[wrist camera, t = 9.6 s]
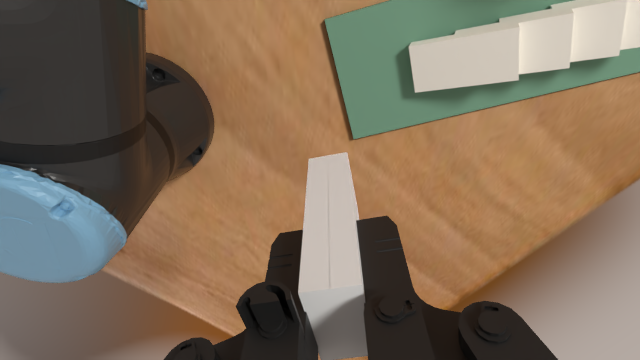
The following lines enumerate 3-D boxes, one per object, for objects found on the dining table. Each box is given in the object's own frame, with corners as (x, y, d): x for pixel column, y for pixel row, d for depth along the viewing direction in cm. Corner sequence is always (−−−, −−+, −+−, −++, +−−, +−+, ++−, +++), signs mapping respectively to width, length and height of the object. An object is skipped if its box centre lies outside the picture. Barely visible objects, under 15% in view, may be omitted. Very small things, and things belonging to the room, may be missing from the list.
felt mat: (353, 137, 45) (353, 139, 45) (324, 19, 38) (324, 20, 38) (656, 65, 40) (660, 66, 39) (687, -87, 33) (693, -88, 32)
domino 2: (458, 82, 39) (569, 68, 35) (454, 34, 37) (574, 12, 32) (459, 76, 40) (566, 62, 36) (455, 30, 38) (571, 9, 33)
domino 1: (414, 92, 40) (518, 80, 35) (408, 46, 37) (519, 27, 33) (417, 87, 41) (518, 74, 37) (411, 42, 39) (518, 22, 34)
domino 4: (549, 59, 38) (678, 41, 33) (552, 8, 35) (692, -19, 31) (547, 54, 39) (671, 37, 34) (550, 4, 36) (684, -22, 32)
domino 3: (500, 71, 39) (619, 55, 34) (499, 22, 36) (627, -2, 32) (500, 66, 40) (614, 50, 35) (499, 18, 37) (623, -6, 33)
